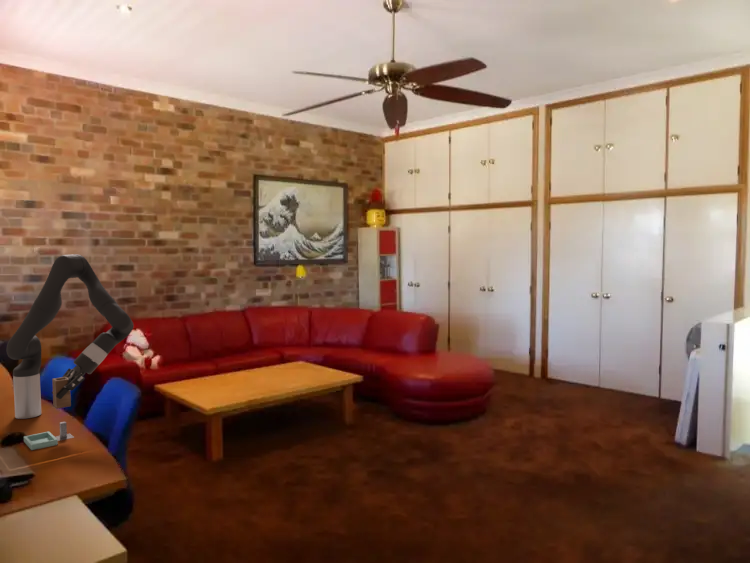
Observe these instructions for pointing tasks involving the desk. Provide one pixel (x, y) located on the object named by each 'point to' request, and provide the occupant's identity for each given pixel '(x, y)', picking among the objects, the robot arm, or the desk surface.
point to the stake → (63, 432)
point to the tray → (40, 440)
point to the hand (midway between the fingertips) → (55, 396)
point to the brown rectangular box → (57, 386)
